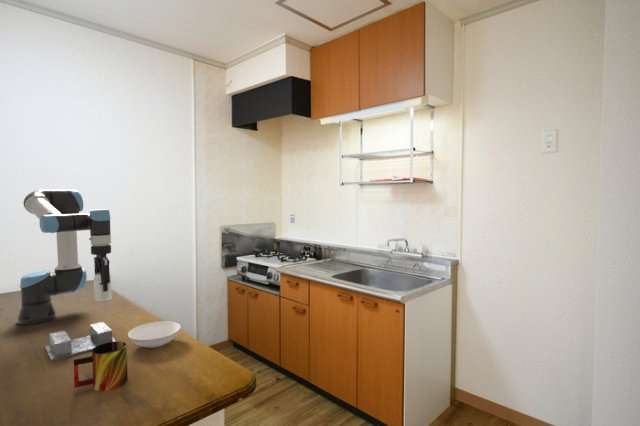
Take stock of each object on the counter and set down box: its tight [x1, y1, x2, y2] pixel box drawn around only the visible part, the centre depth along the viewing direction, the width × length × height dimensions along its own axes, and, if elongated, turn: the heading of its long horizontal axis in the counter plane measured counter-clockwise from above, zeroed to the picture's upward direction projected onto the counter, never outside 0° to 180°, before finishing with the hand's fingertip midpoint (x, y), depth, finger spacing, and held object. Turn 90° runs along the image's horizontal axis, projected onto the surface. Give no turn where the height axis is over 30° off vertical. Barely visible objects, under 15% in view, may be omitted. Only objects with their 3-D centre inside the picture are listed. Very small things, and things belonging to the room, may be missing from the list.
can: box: [93, 272, 112, 303], centre depth 154 cm, size 6×6×12 cm
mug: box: [73, 340, 129, 392], centre depth 114 cm, size 10×14×12 cm
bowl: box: [127, 320, 182, 349], centre depth 145 cm, size 20×20×6 cm
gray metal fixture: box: [44, 321, 117, 362], centre depth 144 cm, size 16×22×6 cm
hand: (102, 296), depth 155 cm, fingers closed on can, 6 cm apart
